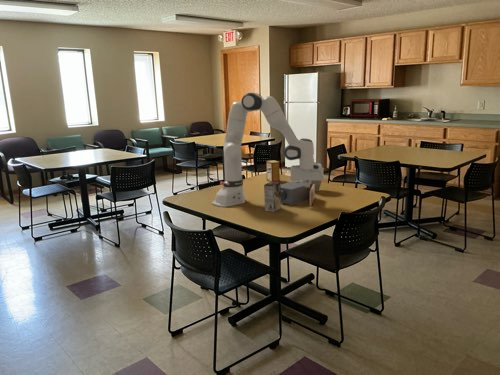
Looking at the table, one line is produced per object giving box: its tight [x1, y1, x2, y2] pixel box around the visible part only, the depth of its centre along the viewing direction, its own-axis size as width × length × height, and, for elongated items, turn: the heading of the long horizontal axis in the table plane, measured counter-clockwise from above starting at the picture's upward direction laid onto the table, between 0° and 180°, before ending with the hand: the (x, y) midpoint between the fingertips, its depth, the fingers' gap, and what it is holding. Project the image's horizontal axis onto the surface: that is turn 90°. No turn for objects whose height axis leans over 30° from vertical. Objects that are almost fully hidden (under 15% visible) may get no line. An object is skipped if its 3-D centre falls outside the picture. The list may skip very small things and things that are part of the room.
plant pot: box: [305, 167, 325, 193], centre depth 284 cm, size 15×15×16 cm
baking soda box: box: [265, 160, 281, 183], centre depth 319 cm, size 10×6×16 cm
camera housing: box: [280, 180, 313, 206], centre depth 262 cm, size 24×14×11 cm, turn 135°
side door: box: [309, 184, 316, 206], centre depth 255 cm, size 20×2×9 cm, turn 165°
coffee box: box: [263, 182, 282, 213], centre depth 242 cm, size 9×6×16 cm
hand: (307, 187), depth 251 cm, fingers closed
